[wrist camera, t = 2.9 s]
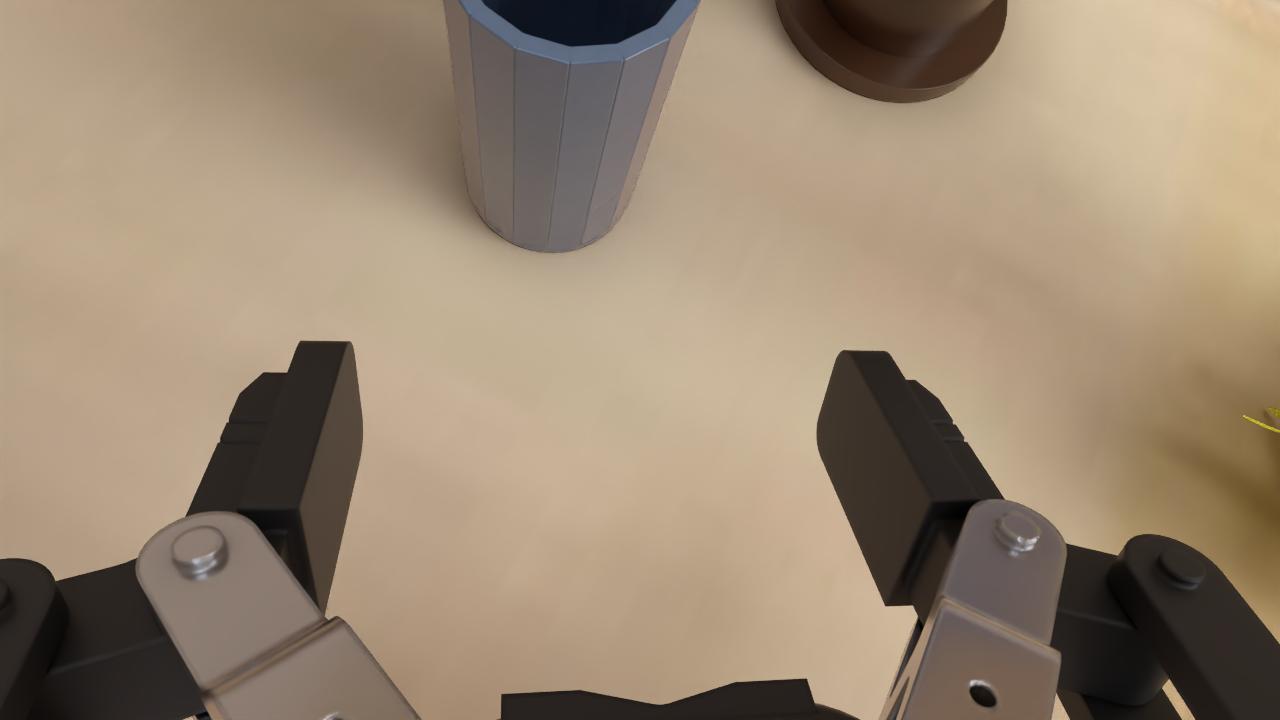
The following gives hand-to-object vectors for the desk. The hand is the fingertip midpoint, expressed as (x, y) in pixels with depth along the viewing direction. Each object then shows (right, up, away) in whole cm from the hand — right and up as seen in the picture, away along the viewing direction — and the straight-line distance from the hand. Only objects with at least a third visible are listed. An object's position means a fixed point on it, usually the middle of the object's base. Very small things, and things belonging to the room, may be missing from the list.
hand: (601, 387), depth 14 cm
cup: (-3, +7, +16) cm, 18 cm away
